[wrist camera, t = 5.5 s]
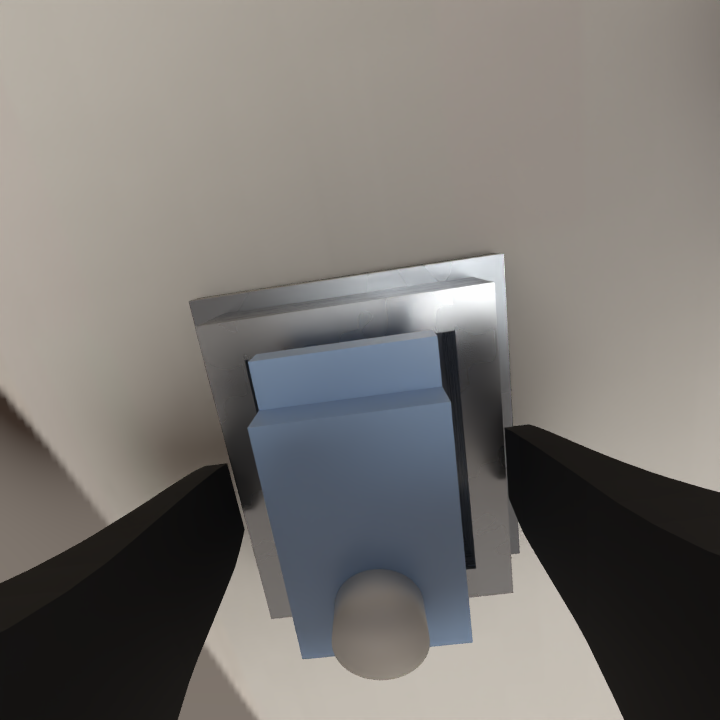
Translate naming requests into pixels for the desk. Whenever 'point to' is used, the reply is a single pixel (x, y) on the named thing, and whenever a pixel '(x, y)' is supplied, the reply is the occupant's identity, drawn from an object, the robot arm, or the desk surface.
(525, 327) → the desk surface
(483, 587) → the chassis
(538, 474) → the robot arm
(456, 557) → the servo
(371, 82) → the desk surface
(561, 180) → the desk surface
